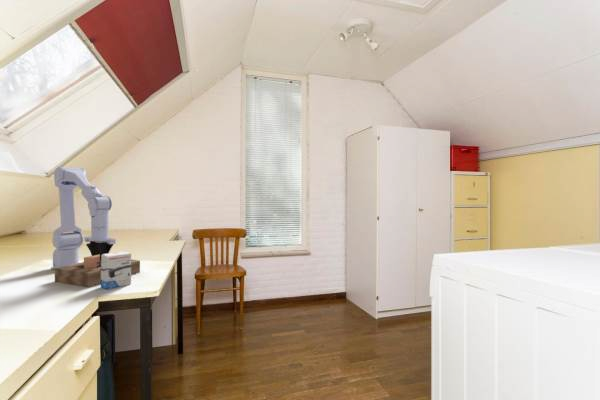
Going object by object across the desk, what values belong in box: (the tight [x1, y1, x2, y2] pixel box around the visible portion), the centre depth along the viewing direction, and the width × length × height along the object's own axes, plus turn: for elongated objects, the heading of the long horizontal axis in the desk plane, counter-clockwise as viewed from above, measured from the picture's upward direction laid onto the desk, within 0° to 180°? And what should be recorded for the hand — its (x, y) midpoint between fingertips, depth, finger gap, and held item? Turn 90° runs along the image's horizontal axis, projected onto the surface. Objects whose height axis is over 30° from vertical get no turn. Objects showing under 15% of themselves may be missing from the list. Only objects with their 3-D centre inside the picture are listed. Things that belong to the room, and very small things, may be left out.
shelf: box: [54, 259, 141, 288], centre depth 123 cm, size 18×22×5 cm
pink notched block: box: [83, 254, 100, 269], centre depth 122 cm, size 4×10×6 cm, turn 161°
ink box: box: [100, 250, 132, 290], centre depth 112 cm, size 8×5×12 cm, turn 143°
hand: (99, 260), depth 123 cm, fingers closed on pink notched block, 3 cm apart
